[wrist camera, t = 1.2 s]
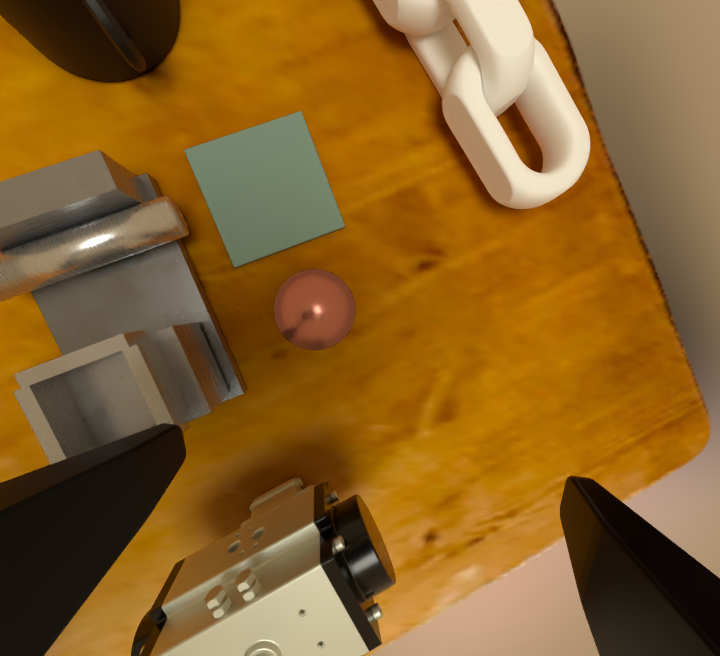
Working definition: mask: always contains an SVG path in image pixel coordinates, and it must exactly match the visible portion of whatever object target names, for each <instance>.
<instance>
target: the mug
mask: <svg viewBox="0 0 720 656" xmlns="http://www.w3.org/2000/svg"><path fill="white" fill-rule="evenodd" d="M0 15H1V16H2V17H3V18H4V19H5V20H6V21H7V22H8V23H9V24H10V25H12V26H13V27H14V28H15V29H16V30H17V31H18V32H19V33H20V34H21V35H22V36H24V37H25V38H26V39H27V40H28V41H29V42H30V43H31V44H32V45H33V46H34V47H36V48H37V49H38V50H39V51H40V52H41V53H42V54H43V55H44V56H45V57H46V58H48V59H49V60H51V61H52V62H53V63H55V64H56V65H58V66H60V67H61V68H63V69H65V70H67V71H69V72H71V73H74V74H77V75H80V76H82V77H86V78H89V79H94V80H99V81H120V80H127V79H130V78H134V77H137V76H139V75H141V74H143V73H146V72H147V71H149V70H150V69H152V68H153V67H154V66H156V65H157V64H158V63H159V62H160V61H161V60H162V59H163V58H164V56H165V55H166V54H167V52H168V51H169V49H170V47H171V45H172V43H173V41H174V39H175V36H176V32H177V28H178V20H179V1H178V0H0Z"/></svg>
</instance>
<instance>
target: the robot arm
mask: <svg viewBox="0 0 720 656" xmlns="http://www.w3.org/2000/svg"><path fill="white" fill-rule="evenodd" d="M185 458H186V447H185V442H184V438H183V433H182V429H181V427H180V426H179V425H176V424H169V423H162V424H159V425H157V426H154V427H151V428H148V429H146V430H143V431H140V432H138V433H135V434H132V435H129V436H127V437H124V438H121V439H119V440H116V441H113V442H110V443H108V444H105V445H102V446H100V447H97V448H94V449H91V450H89V451H86V452H83V453H81V454H78V455H75V456H72V457H70V458H67V459H64V460H62V461H59V462H56V463H53V464H51V465H48V466H45V467H43V468H40V469H37V470H34V471H32V472H29V473H26V474H24V475H21V476H18V477H16V478H13V479H10V480H7V481H5V482H2V483H0V656H44V655H45V654H46V652H47V651H48V650H49V648H50V647H51V646H52V644H53V643H54V642H55V640H56V639H57V638H58V637H59V635H60V634H61V633H62V631H63V630H64V629H65V627H66V626H67V625H68V623H69V622H70V621H71V619H72V618H73V617H74V615H75V614H76V613H77V611H78V610H79V609H80V607H81V606H82V605H83V603H84V602H85V601H86V600H87V598H88V597H89V596H90V594H91V593H92V592H93V590H94V589H95V588H96V586H97V585H98V584H99V582H100V581H101V580H102V578H103V577H104V576H105V574H106V573H107V572H108V570H109V569H110V568H111V566H112V565H113V564H114V563H115V561H116V560H117V559H118V557H119V556H120V555H121V553H122V552H123V551H124V549H125V548H126V547H127V545H128V544H129V543H130V541H131V540H132V539H133V537H134V536H135V535H136V533H137V532H138V531H139V529H140V528H141V527H142V525H143V524H144V523H145V521H146V520H147V518H148V517H149V516H150V514H151V513H152V511H153V510H154V508H155V506H156V505H157V503H158V502H159V500H160V499H161V497H162V495H163V494H164V492H165V491H166V489H167V488H168V486H169V484H170V483H171V481H172V480H173V478H174V476H175V475H176V473H177V472H178V470H179V469H180V467H181V465H182V464H183V462H184V460H185ZM560 519H561V523H562V527H563V531H564V535H565V539H566V543H567V547H568V552H569V556H570V560H571V564H572V568H573V572H574V576H575V580H576V584H577V588H578V592H579V596H580V599H581V603H582V606H583V609H584V612H585V615H586V618H587V621H588V624H589V627H590V630H591V633H592V635H593V638H594V641H595V644H596V647H597V649H598V652H599V655H600V656H720V578H718V577H717V576H716V575H715V574H713V573H712V572H711V571H710V570H708V569H707V568H706V567H704V566H703V565H702V564H701V563H699V562H698V561H697V560H695V559H694V558H693V557H692V556H690V555H689V554H688V553H687V552H685V551H684V550H683V549H681V548H680V547H679V546H677V545H676V544H675V543H674V542H672V541H671V540H670V539H669V538H667V537H666V536H665V535H664V534H662V533H661V532H660V531H658V530H657V529H656V528H654V527H653V526H652V525H651V524H649V523H648V522H647V521H646V520H644V519H643V518H642V517H640V516H639V515H638V514H636V513H635V512H634V511H633V510H632V509H630V508H629V507H628V506H626V505H625V504H624V503H623V502H621V501H620V500H619V499H617V498H616V497H615V496H614V495H612V494H611V493H610V492H608V491H607V490H606V489H605V488H603V487H602V486H601V485H599V484H598V483H597V482H596V481H594V480H593V479H591V478H585V477H578V476H570V477H568V478H567V480H566V483H565V487H564V491H563V496H562V500H561V505H560Z"/></svg>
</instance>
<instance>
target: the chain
mask: <svg viewBox="0 0 720 656" xmlns="http://www.w3.org/2000/svg"><path fill="white" fill-rule="evenodd" d="M373 2H374V4H375V5H376V7H377V9H378V10H379V12H380V14H381V15H382V17H383V18H384V19H385V21H386V22H387V23H388V24H389V25H390V26H392V27H393V28H395V29H396V30H398V31H400V32H403V33H405V36H406V38H407V40H408V42H409V44H410V46H411V48H412V49H413V51H414V52H415V54H416V56H417V57H418V59H419V61H420V62H421V64H422V66H423V67H424V69H425V71H426V72H427V74H428V76H429V77H430V79H431V81H432V82H433V84H434V86H435V87H436V89H437V91H438V92H439V94H440V96H441V97H442V110H443V114H444V118H445V120H446V122H447V124H448V126H449V128H450V129H451V131H452V133H453V134H454V136H455V138H456V139H457V141H458V143H459V144H460V146H461V148H462V149H463V151H464V152H465V154H466V156H467V157H468V159H469V161H470V162H471V164H472V166H473V167H474V169H475V171H476V172H477V174H478V176H479V177H480V179H481V181H482V182H483V184H484V186H485V187H486V189H487V191H488V192H489V194H490V195H491V196H492V197H493V199H494V200H495V201H497V202H498V203H500V204H502V205H504V206H506V207H510V208H514V209H529V208H534V207H538V206H541V205H543V204H545V203H547V202H549V201H550V200H552V199H554V198H555V197H557V196H559V195H560V194H562V193H563V192H564V191H566V190H567V189H569V188H570V187H571V186H572V185H574V184H575V182H576V181H577V180H578V178H579V177H580V175H581V174H582V172H583V170H584V168H585V166H586V163H587V160H588V157H589V152H590V136H589V131H588V128H587V126H586V124H585V122H584V120H583V118H582V116H581V115H580V113H579V111H578V109H577V107H576V105H575V104H574V102H573V100H572V98H571V96H570V94H569V93H568V91H567V89H566V87H565V85H564V83H563V82H562V80H561V78H560V76H559V74H558V72H557V71H556V69H555V67H554V65H553V63H552V62H551V60H550V58H549V56H548V54H547V52H546V51H545V49H544V48H543V46H542V45H541V44H540V43H539V42H538V41H537V40H536V39H535V38H534V36H533V31H532V27H531V24H530V22H529V20H528V18H527V16H526V14H525V12H524V10H523V8H522V7H521V5H520V3H519V1H518V0H373ZM455 18H456V20H457V22H458V23H459V25H460V27H461V28H462V30H463V32H464V33H465V35H466V37H467V38H468V40H469V42H470V43H471V45H470V46H469V47H467V45H466V43H465V42H464V40H463V38H462V36H461V35H460V33H459V31H458V30H457V28H456V26H455V25H454V23H453V20H454V19H455ZM514 102H515V104H516V106H517V108H518V110H519V112H520V113H521V115H522V117H523V119H524V120H525V122H526V124H527V126H528V127H529V129H530V131H531V132H532V134H533V136H534V137H535V139H536V141H537V142H538V144H539V146H540V148H541V151H542V155H543V167H542V171H541V173H538V172H535V171H533V170H531V169H529V168H528V167H527V166H525V165H524V164H523V162H522V161H521V160H520V158H519V157H518V155H517V153H516V151H515V150H514V148H513V146H512V144H511V142H510V141H509V139H508V137H507V135H506V133H505V132H504V130H503V128H502V127H501V125H500V123H499V122H498V120H497V118H496V117H497V116H499V115H500V114H501V113H503V112H504V111H505V110H506V109H508V108H509V107H510V106H511V105H512V104H513V103H514Z"/></svg>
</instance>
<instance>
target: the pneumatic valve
mask: <svg viewBox="0 0 720 656" xmlns="http://www.w3.org/2000/svg"><path fill="white" fill-rule="evenodd" d="M301 486H303V482H302V480H301V478H298V479H297V478H296V477H293V478H291V479H289V480H288V481H286V482H284V483H282V484H280V485H278V486H277V487H275V488H273V489H271V490H269V491H267V492H266V493H264V494H262V495H260V496H258V497H256V498H254V500H253V503H252V504H250V507H249V510H250V511H252V512H251V517H250V519H248V520H246V521H244V522H242V523H241V526H240V528H239V529H237V530H236V531H234V532H232V533H230V534H228V535H226V536H225V537H223V538H221V539H219V540H217V541H216V542H214V543H212V544H210V545H208V546H206V547H205V548H203V549H201V550H199V551H197V552H195V553H194V554H192V555H190V556H188V557H186V558H185V559H183V560H181V561H179V562H177V563H176V564H175V566H174V568H173V569H172V571H171V573H170V575H169V577H168V579H167V580H166V582H165V584H164V586H163V588H162V590H161V592H160V593H159V595H158V597H157V599H156V601H155V603H154V604H153V606H152V608H151V609H150V610H149V611H148V612H147V613H146V615H145V616H144V617H143V619H142V620H141V622H140V624H139V626H138V628H137V631H136V634H135V637H134V641H133V645H132V651H131V656H363V655H364V654H366V653H368V652H369V651H371V650H373V649H374V648H376V647H378V646H379V645H381V644H382V641H381V636H380V631H379V626H378V621H377V620H378V619H380V618H381V617H382V616H383V614H382V610H381V608H380V606H379V604H378V603H375V604H374V600H373V597H374V596H376V595H377V594H379V593H381V592H382V591H384V590H386V589H388V588H389V587H391V586H393V585H394V584H395V582H396V578H395V573H394V569H393V566H392V563H391V560H390V557H389V554H388V552H387V549H386V546H385V544H384V541H383V539H382V537H381V534H380V532H379V530H378V528H377V526H376V523H375V521H374V519H373V517H372V515H371V513H370V511H369V510H368V508H367V506H366V504H365V503H364V501H363V500H362V498H361V497H360V496H359V495H357V494H356V495H354V496H352V497H350V498H348V499H347V500H345V501H343V502H341V503H340V502H339V495H338V493H337V491H336V490H334V491H333V489H332V488H331V486H330V484H329V482H326V483H324V482H323V483H321V484H320V485H318V486H316V487H315V486H314V485H311V486H308V487H306V488H305V489H303V490H302V489H301Z"/></svg>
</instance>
